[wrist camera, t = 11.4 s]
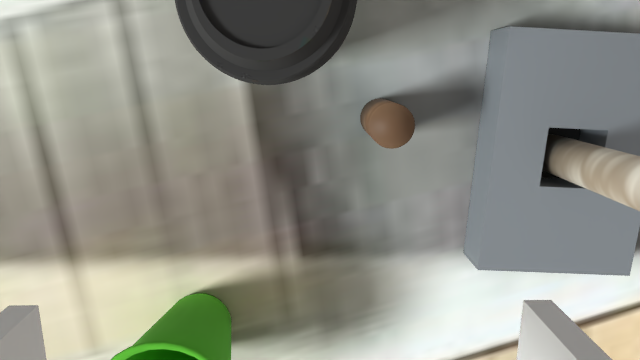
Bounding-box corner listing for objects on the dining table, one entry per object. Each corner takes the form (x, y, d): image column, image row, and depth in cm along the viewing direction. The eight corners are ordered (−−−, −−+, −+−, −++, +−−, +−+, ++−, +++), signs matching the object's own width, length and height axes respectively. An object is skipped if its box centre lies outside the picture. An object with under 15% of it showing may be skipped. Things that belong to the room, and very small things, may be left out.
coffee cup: (360, -14, 35) (396, -74, 21) (311, 99, 37) (313, 117, 22) (247, -68, 34) (201, -172, 20) (202, 50, 36) (129, 36, 21)
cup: (255, 272, 40) (236, 346, 29) (252, 367, 42) (233, 469, 31) (147, 267, 40) (88, 339, 29) (149, 363, 42) (95, 464, 31)
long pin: (535, 133, 38) (661, 167, 24) (571, 135, 38) (717, 171, 25) (528, 169, 39) (648, 223, 25) (564, 172, 39) (703, 226, 25)
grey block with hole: (491, 30, 36) (510, 26, 33) (645, 39, 37) (679, 35, 33) (463, 253, 40) (477, 269, 37) (602, 258, 41) (629, 275, 37)
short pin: (361, 97, 37) (371, 102, 31) (399, 99, 37) (417, 104, 31) (359, 135, 38) (368, 147, 32) (396, 137, 38) (412, 149, 32)
